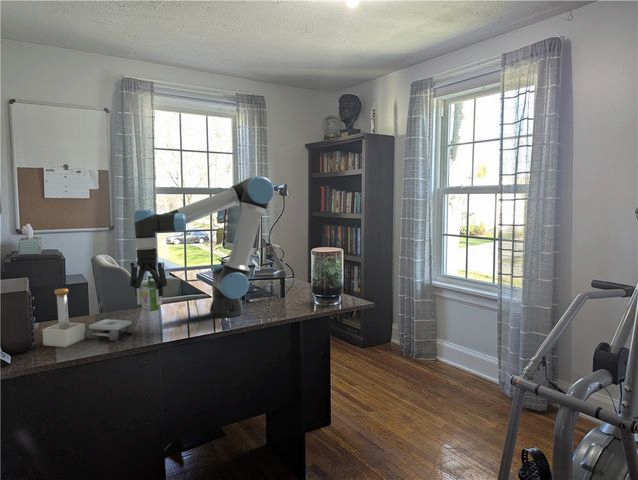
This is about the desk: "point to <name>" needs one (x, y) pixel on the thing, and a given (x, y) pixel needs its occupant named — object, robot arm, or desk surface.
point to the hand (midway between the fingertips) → (149, 303)
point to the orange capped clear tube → (62, 308)
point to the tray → (63, 335)
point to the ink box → (149, 295)
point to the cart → (109, 328)
